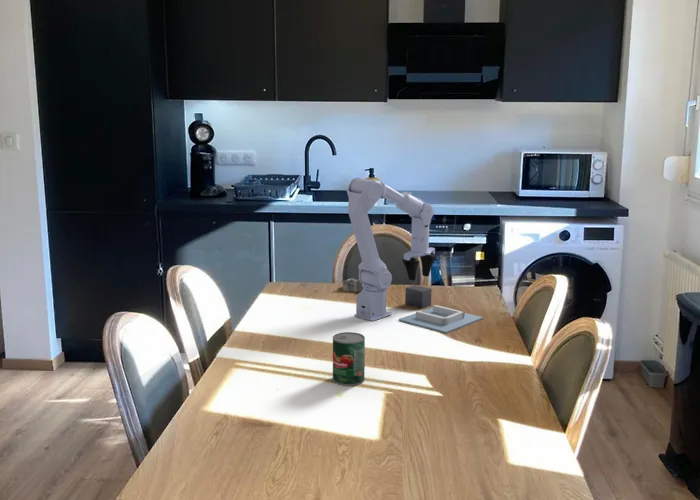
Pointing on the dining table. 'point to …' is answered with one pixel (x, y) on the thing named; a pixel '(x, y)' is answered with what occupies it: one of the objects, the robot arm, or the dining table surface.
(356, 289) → the egg carton
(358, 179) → the robot arm
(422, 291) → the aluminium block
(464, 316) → the coupler cradle
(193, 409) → the dining table surface
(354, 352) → the canned tomato
